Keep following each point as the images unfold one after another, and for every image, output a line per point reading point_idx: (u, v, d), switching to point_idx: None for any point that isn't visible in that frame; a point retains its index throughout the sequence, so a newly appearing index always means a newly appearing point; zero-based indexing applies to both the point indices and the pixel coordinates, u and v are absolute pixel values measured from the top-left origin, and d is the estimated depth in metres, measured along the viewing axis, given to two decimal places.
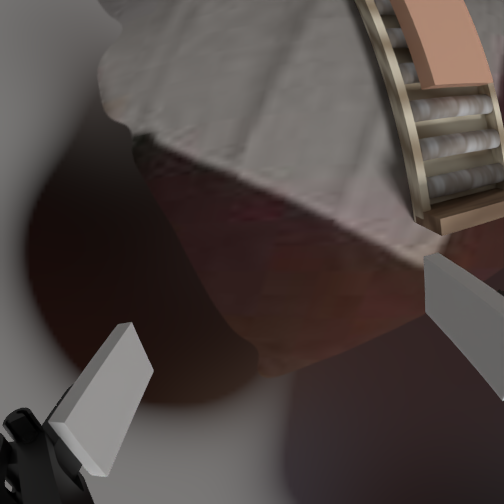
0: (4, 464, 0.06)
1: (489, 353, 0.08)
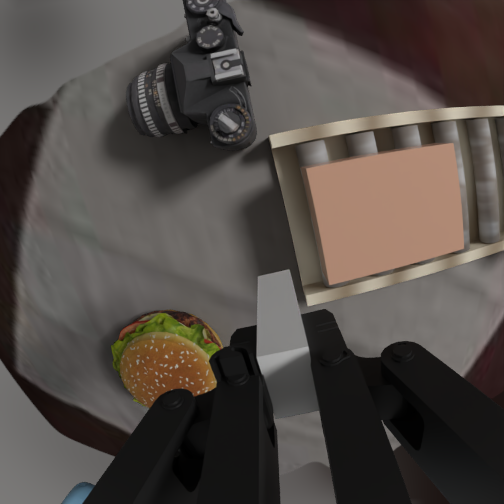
0: (181, 432, 0.07)
1: None
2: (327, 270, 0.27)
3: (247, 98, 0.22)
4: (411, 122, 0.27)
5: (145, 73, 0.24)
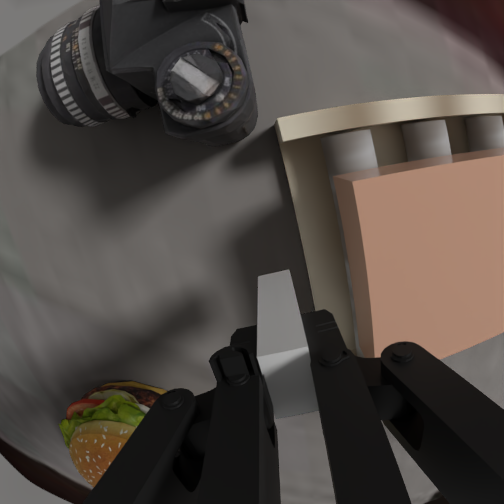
0: (182, 433, 0.07)
1: None
2: None
3: (239, 34, 0.09)
4: (496, 110, 0.14)
5: (70, 23, 0.11)
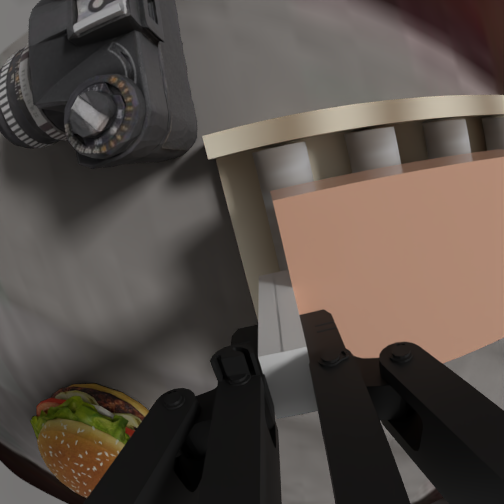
0: (183, 432, 0.07)
1: None
2: None
3: (139, 60, 0.09)
4: (457, 114, 0.14)
5: (19, 51, 0.11)
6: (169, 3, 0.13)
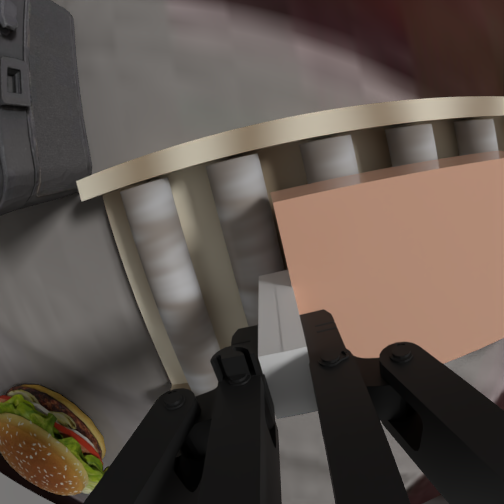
0: (183, 432, 0.07)
1: None
2: None
3: None
4: (334, 130, 0.15)
5: None
6: (59, 53, 0.14)
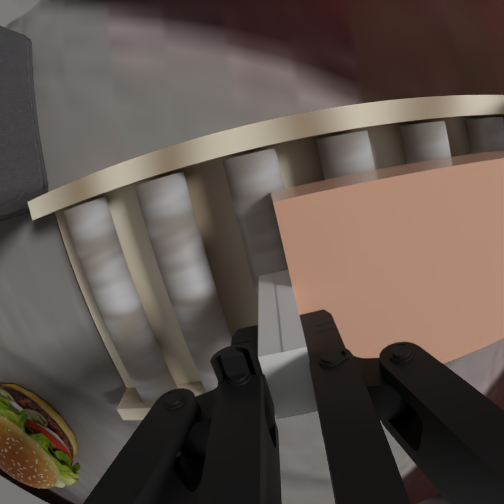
0: (183, 433, 0.07)
1: None
2: None
3: None
4: (253, 146, 0.15)
5: None
6: (14, 81, 0.14)
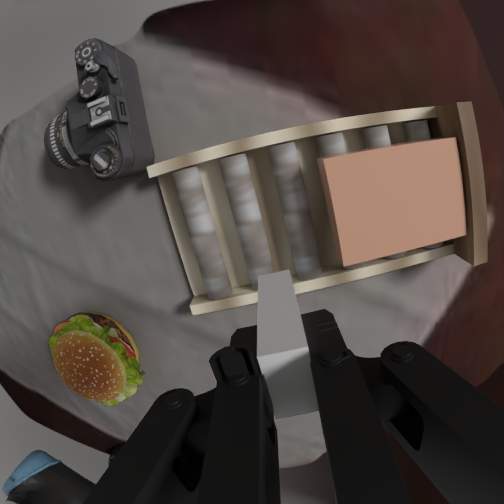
0: (181, 432, 0.07)
1: None
2: (342, 252, 0.29)
3: (119, 137, 0.25)
4: (284, 140, 0.30)
5: (57, 117, 0.27)
6: (134, 89, 0.29)
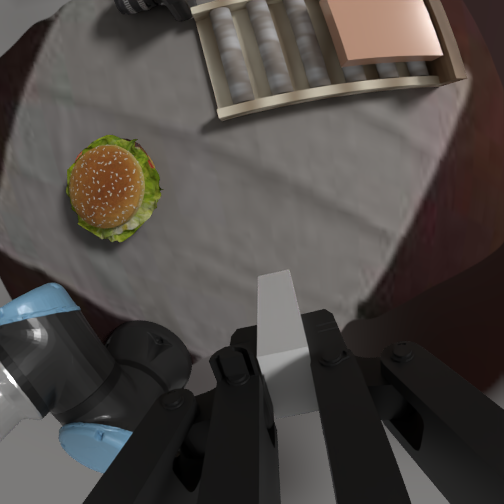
0: (182, 432, 0.07)
1: None
2: (345, 50, 0.31)
3: None
4: None
5: None
6: None
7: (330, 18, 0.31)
